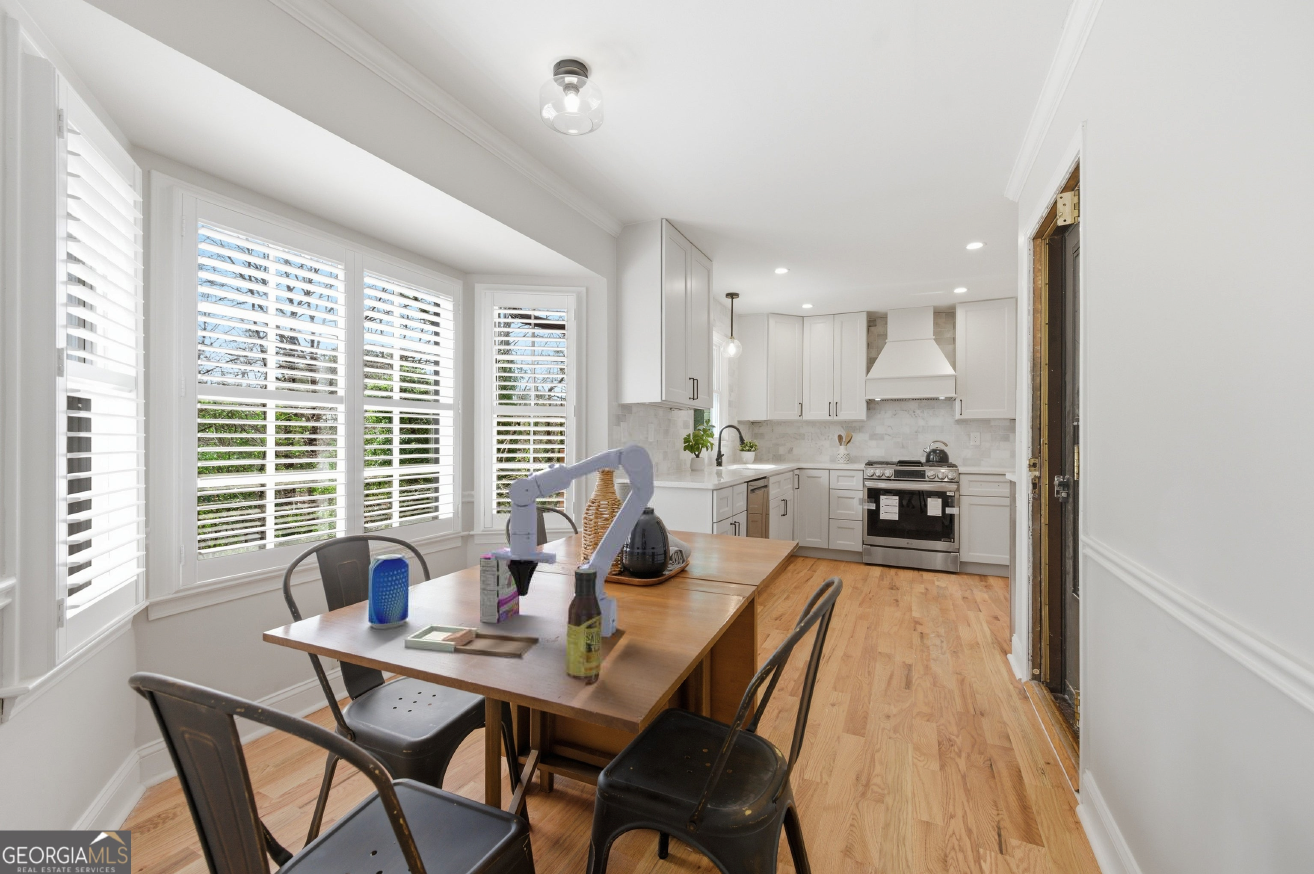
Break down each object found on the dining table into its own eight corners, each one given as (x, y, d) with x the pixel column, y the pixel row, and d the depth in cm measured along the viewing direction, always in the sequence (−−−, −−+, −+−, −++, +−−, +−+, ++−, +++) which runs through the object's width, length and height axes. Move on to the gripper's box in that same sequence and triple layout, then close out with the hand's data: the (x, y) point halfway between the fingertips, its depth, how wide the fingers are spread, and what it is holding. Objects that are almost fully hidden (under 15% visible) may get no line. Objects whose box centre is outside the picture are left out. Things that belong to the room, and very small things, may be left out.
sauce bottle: (590, 689, 99) (591, 576, 99) (559, 683, 102) (560, 572, 102) (607, 675, 105) (608, 568, 105) (577, 669, 108) (578, 565, 108)
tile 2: (473, 637, 119) (471, 628, 119) (462, 645, 114) (459, 635, 114) (455, 642, 120) (452, 633, 120) (443, 650, 115) (440, 641, 115)
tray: (477, 642, 121) (477, 628, 121) (453, 658, 112) (454, 643, 112) (430, 638, 123) (431, 624, 123) (404, 653, 114) (404, 638, 114)
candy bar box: (501, 613, 141) (501, 547, 141) (519, 614, 140) (520, 548, 140) (478, 628, 130) (479, 556, 130) (498, 629, 129) (499, 557, 129)
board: (538, 648, 118) (538, 637, 118) (519, 665, 109) (519, 653, 109) (477, 642, 121) (477, 631, 121) (453, 658, 112) (453, 647, 112)
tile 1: (452, 642, 120) (452, 632, 120) (440, 650, 116) (440, 640, 116) (433, 640, 121) (433, 631, 121) (420, 648, 116) (420, 638, 116)
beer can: (373, 632, 126) (374, 560, 126) (364, 622, 133) (365, 554, 133) (412, 625, 132) (413, 556, 132) (402, 615, 138) (403, 550, 138)
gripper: (484, 534, 122) (483, 597, 122) (547, 537, 119) (546, 602, 119) (499, 529, 129) (499, 588, 129) (560, 532, 126) (559, 593, 126)
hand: (522, 594), depth 124 cm, fingers closed
